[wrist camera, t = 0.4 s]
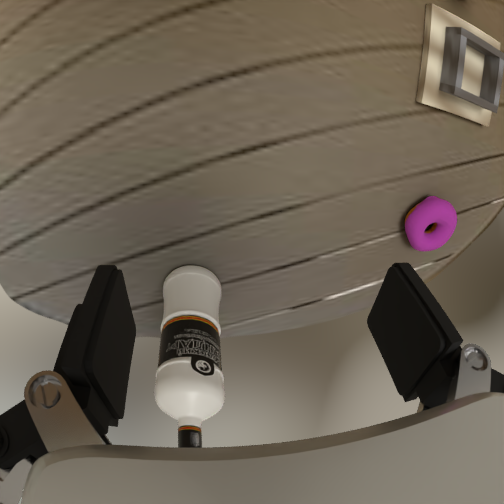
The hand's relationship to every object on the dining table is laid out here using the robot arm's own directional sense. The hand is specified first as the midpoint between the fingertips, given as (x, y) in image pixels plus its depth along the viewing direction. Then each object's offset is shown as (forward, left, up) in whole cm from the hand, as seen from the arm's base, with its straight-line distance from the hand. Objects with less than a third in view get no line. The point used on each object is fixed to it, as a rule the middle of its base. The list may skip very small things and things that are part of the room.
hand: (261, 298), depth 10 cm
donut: (+13, +34, -31) cm, 48 cm away
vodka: (+26, -5, -31) cm, 40 cm away
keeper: (-14, +34, -31) cm, 48 cm away
